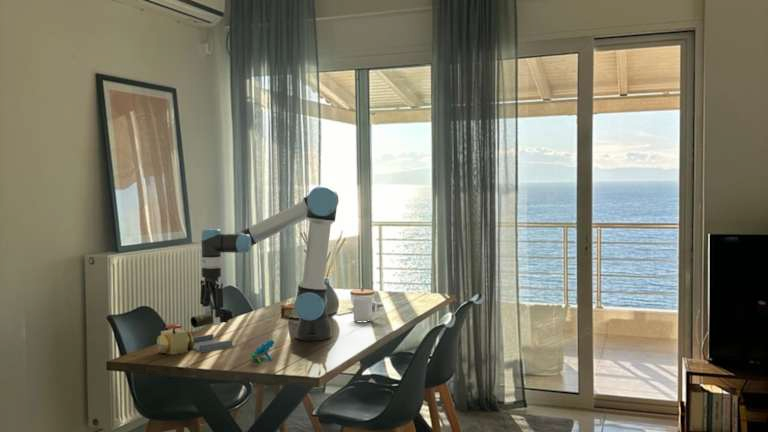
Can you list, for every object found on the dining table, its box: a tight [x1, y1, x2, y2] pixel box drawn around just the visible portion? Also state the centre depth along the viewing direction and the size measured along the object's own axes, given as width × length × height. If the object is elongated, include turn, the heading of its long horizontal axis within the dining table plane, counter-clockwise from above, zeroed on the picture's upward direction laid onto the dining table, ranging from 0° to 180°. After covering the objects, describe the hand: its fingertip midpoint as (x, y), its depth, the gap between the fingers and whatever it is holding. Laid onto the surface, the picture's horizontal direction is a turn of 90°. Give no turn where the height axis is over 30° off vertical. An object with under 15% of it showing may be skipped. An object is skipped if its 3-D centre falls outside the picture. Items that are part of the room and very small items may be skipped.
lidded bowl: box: [350, 287, 375, 305], centre depth 360 cm, size 13×13×11 cm
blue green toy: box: [250, 339, 275, 364], centre depth 254 cm, size 11×6×10 cm
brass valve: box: [156, 322, 195, 356], centre depth 266 cm, size 8×12×11 cm, turn 134°
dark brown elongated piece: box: [190, 307, 234, 329], centre depth 277 cm, size 18×7×6 cm, turn 137°
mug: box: [352, 296, 378, 322], centre depth 326 cm, size 12×9×11 cm
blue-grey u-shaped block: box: [191, 333, 234, 353], centre depth 276 cm, size 17×14×3 cm
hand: (211, 323), depth 277 cm, fingers closed on dark brown elongated piece, 7 cm apart
